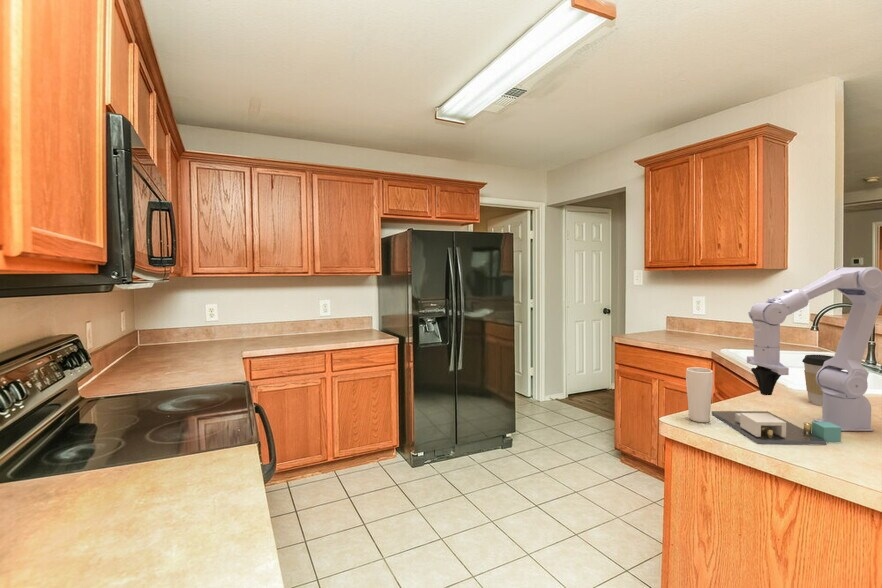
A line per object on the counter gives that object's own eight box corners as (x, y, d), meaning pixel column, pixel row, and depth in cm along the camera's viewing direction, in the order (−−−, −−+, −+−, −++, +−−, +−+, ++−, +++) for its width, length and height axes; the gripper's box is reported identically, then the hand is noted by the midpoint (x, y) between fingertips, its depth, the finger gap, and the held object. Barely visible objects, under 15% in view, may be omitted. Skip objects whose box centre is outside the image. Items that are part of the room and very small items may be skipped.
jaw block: (828, 436, 111) (828, 421, 111) (840, 443, 107) (841, 427, 107) (811, 436, 112) (811, 421, 111) (823, 442, 108) (824, 427, 107)
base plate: (767, 414, 128) (767, 403, 128) (826, 444, 106) (826, 431, 106) (711, 414, 130) (711, 403, 129) (757, 443, 108) (758, 430, 108)
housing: (755, 420, 120) (756, 407, 120) (785, 437, 108) (786, 422, 108) (729, 420, 121) (729, 407, 121) (756, 436, 109) (756, 422, 109)
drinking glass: (716, 424, 121) (717, 372, 120) (690, 423, 123) (691, 372, 122) (707, 416, 128) (707, 367, 127) (682, 415, 129) (682, 366, 128)
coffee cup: (838, 401, 138) (839, 355, 137) (846, 410, 130) (847, 361, 129) (798, 397, 144) (799, 353, 143) (804, 405, 135) (805, 358, 134)
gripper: (735, 341, 125) (735, 387, 126) (768, 351, 110) (767, 402, 111) (761, 341, 124) (761, 387, 125) (797, 350, 110) (796, 402, 110)
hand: (766, 394), depth 118 cm, fingers closed
